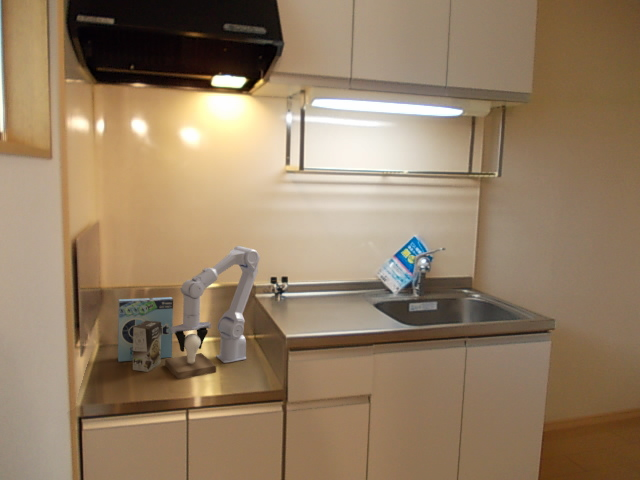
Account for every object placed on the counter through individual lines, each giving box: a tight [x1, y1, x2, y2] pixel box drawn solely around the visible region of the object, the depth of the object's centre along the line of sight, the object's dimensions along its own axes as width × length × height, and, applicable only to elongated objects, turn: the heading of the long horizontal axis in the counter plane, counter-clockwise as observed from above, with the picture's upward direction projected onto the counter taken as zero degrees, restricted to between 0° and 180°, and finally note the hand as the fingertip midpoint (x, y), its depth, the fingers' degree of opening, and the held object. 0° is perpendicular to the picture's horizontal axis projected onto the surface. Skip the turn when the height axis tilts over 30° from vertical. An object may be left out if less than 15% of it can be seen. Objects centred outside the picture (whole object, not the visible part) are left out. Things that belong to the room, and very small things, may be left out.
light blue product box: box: [117, 296, 174, 363], centre depth 192 cm, size 20×5×23 cm, turn 113°
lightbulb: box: [184, 333, 201, 364], centre depth 183 cm, size 6×6×11 cm
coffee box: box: [132, 321, 162, 373], centre depth 184 cm, size 9×6×16 cm
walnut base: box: [164, 352, 217, 380], centre depth 185 cm, size 14×14×2 cm
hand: (190, 349), depth 184 cm, fingers closed on lightbulb, 6 cm apart
